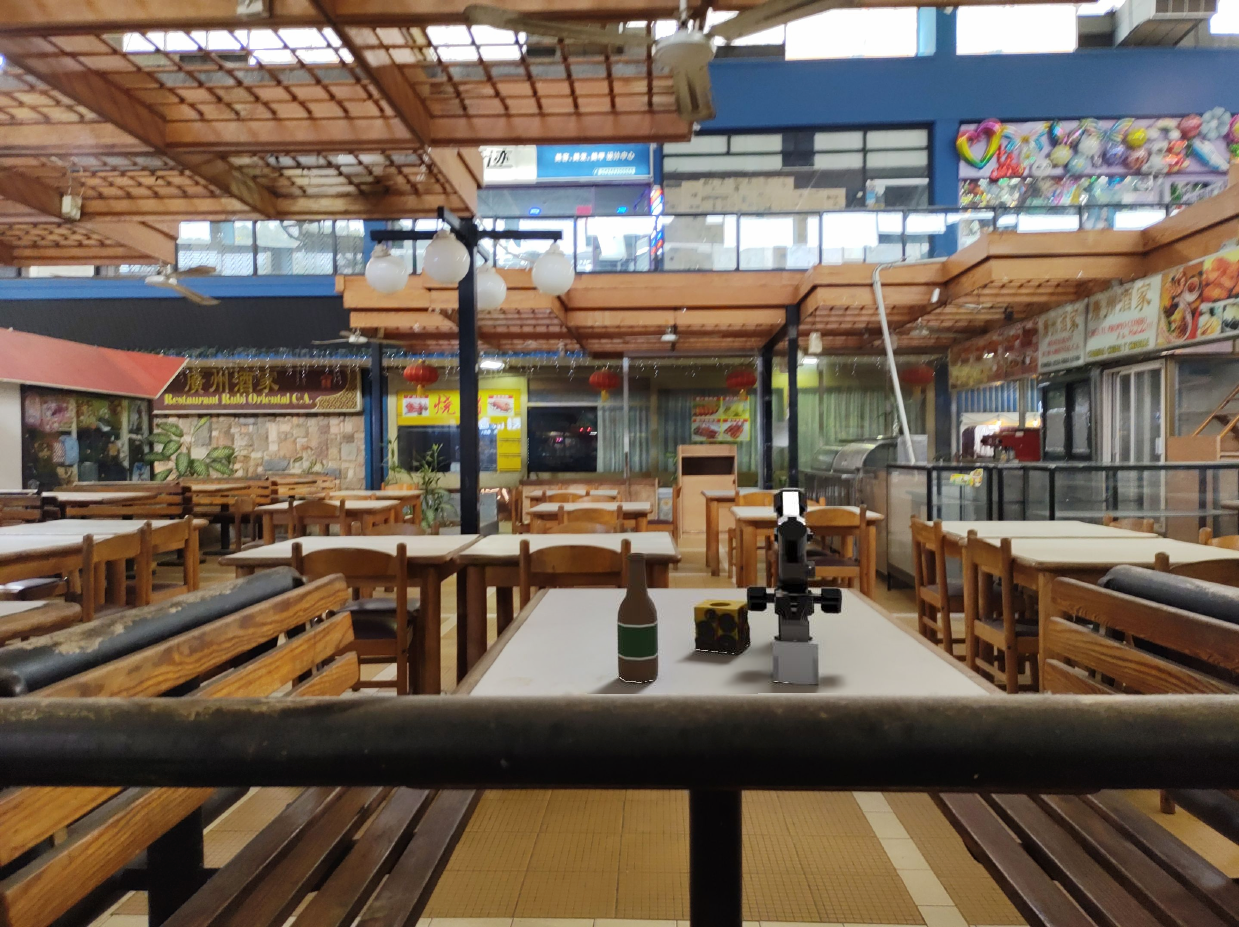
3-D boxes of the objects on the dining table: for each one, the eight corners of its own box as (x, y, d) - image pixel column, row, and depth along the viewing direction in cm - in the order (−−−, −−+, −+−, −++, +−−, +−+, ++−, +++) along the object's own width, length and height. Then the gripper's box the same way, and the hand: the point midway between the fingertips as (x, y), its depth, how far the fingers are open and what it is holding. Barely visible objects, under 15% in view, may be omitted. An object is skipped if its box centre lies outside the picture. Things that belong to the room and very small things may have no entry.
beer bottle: (616, 673, 142) (614, 551, 142) (655, 671, 142) (653, 550, 142) (619, 685, 134) (617, 556, 134) (661, 683, 134) (659, 555, 135)
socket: (773, 669, 143) (773, 630, 143) (816, 670, 141) (815, 631, 141) (773, 682, 134) (772, 641, 134) (818, 684, 132) (818, 642, 132)
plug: (782, 670, 141) (781, 620, 141) (808, 672, 140) (807, 620, 140) (782, 680, 135) (781, 626, 135) (809, 681, 134) (808, 627, 134)
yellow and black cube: (751, 645, 163) (750, 601, 163) (739, 655, 154) (738, 609, 154) (708, 641, 167) (707, 598, 167) (693, 651, 158) (693, 606, 158)
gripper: (746, 546, 148) (744, 610, 138) (840, 547, 144) (846, 613, 133) (748, 578, 156) (747, 641, 145) (838, 580, 152) (843, 645, 141)
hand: (794, 635), depth 141 cm, fingers closed
